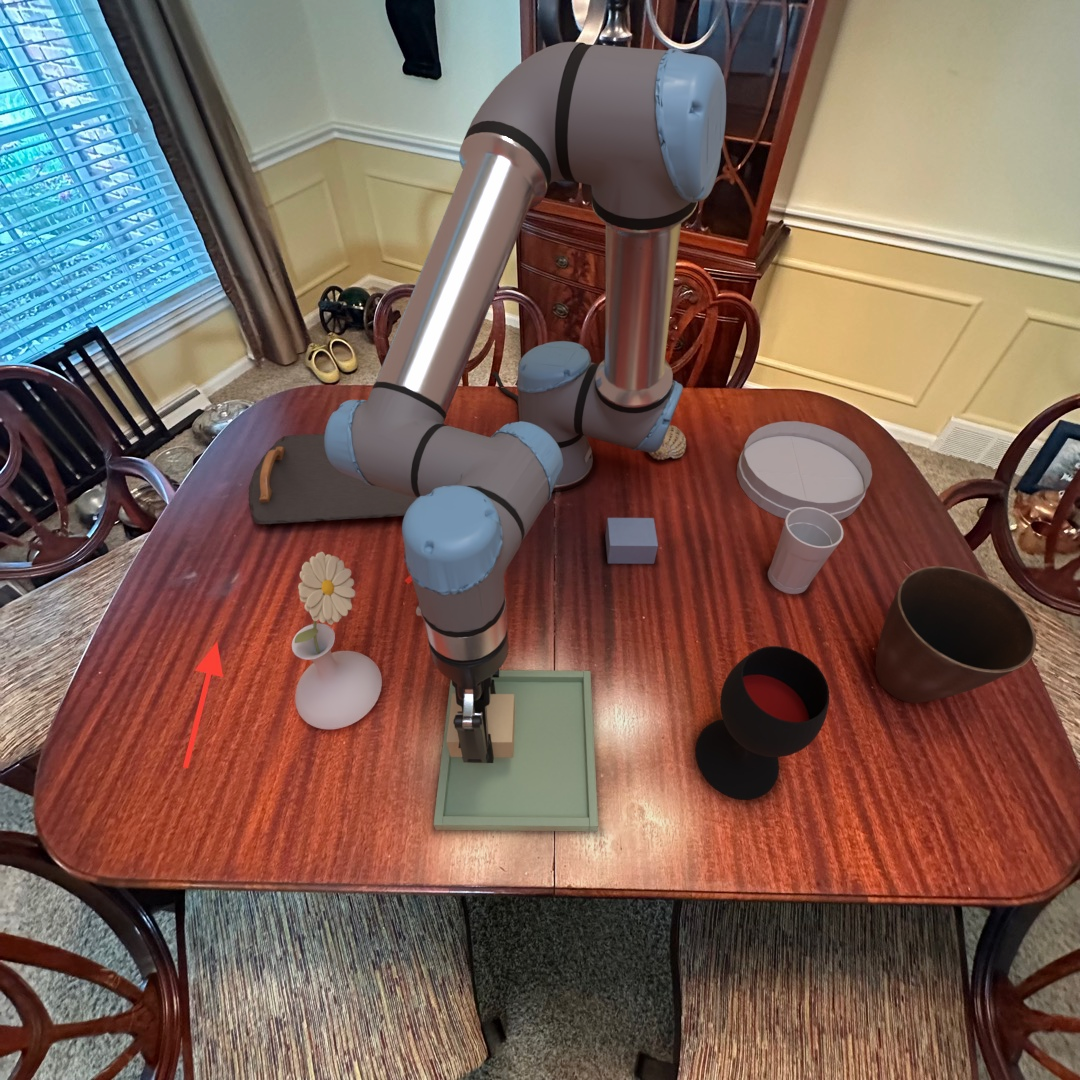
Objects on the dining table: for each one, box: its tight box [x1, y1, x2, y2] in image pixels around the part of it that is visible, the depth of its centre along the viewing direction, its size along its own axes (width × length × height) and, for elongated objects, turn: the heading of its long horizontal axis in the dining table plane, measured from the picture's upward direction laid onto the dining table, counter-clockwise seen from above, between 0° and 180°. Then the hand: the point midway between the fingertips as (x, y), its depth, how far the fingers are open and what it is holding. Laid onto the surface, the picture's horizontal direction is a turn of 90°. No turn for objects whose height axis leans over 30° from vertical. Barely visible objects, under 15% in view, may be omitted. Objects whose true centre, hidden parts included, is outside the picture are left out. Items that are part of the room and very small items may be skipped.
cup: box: [767, 507, 844, 595], centre depth 91 cm, size 8×8×12 cm
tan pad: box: [447, 693, 515, 758], centre depth 72 cm, size 8×6×4 cm
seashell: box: [648, 424, 687, 461], centre depth 114 cm, size 8×6×10 cm
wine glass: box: [695, 645, 830, 801], centre depth 69 cm, size 10×10×20 cm
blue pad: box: [604, 517, 659, 565], centre depth 97 cm, size 8×6×4 cm
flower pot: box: [875, 565, 1037, 704], centre depth 77 cm, size 15×15×16 cm
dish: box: [736, 420, 873, 522], centre depth 108 cm, size 22×22×5 cm
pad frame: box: [433, 669, 599, 832], centre depth 76 cm, size 19×20×2 cm
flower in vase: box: [291, 551, 383, 730], centre depth 73 cm, size 13×11×25 cm
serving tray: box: [248, 433, 417, 528], centre depth 107 cm, size 39×23×6 cm, turn 95°
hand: (484, 732), depth 74 cm, fingers closed on tan pad, 6 cm apart
